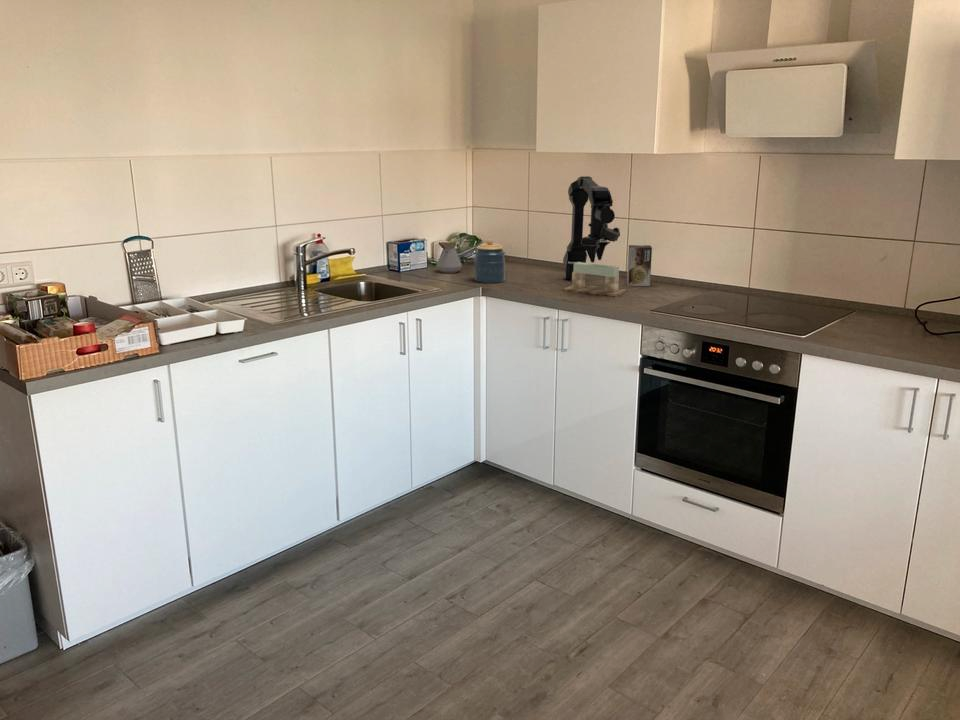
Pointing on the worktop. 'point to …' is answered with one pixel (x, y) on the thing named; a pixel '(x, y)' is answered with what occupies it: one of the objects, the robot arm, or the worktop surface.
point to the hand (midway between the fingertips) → (596, 261)
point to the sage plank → (596, 269)
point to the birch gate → (608, 290)
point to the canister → (489, 263)
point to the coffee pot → (448, 259)
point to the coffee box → (639, 265)
